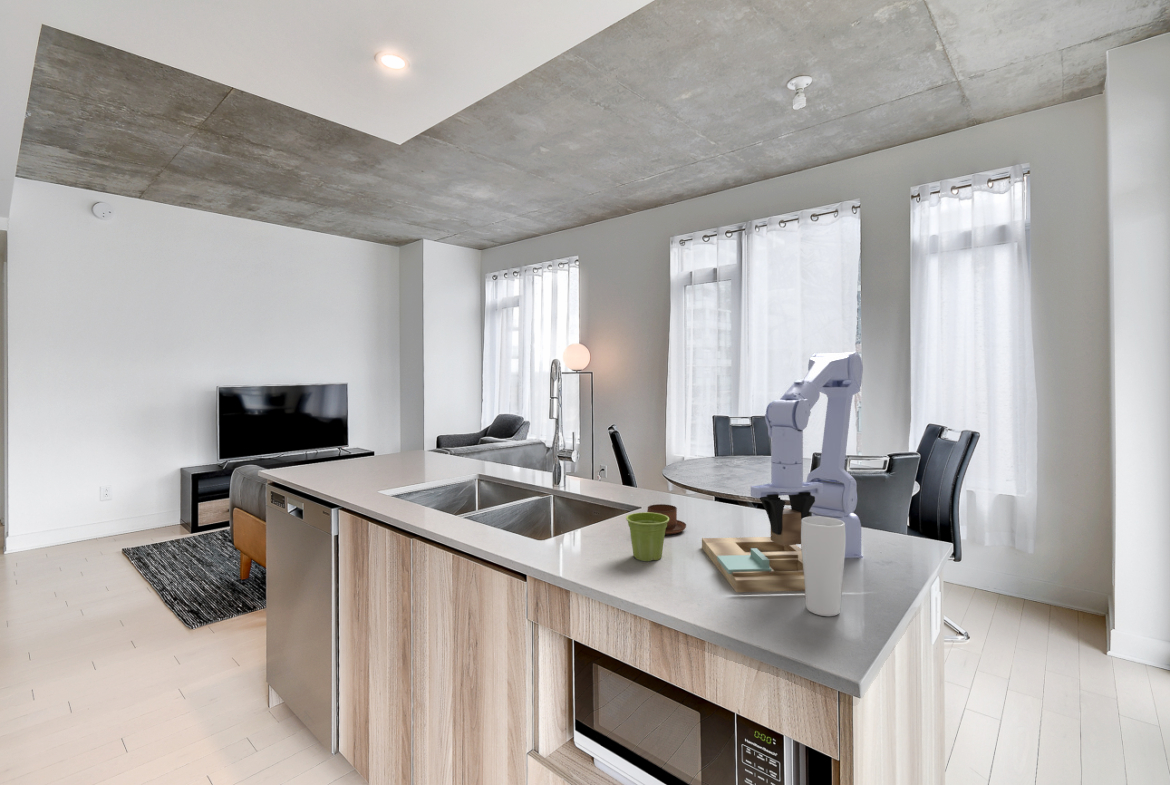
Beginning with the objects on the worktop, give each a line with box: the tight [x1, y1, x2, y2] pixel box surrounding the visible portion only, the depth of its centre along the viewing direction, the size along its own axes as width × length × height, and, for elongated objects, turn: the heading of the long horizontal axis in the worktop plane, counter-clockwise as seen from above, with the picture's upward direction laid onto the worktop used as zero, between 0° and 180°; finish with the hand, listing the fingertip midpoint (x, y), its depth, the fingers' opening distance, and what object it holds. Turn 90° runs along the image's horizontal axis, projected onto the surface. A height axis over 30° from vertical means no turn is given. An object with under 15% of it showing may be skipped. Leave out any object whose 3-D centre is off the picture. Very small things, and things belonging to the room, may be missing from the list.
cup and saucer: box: [647, 503, 687, 536], centre depth 139 cm, size 12×12×6 cm
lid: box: [717, 548, 771, 574], centre depth 106 cm, size 8×8×2 cm
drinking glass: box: [800, 515, 846, 617], centre depth 91 cm, size 7×7×15 cm
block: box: [770, 507, 801, 546], centre depth 106 cm, size 4×4×6 cm
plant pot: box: [625, 511, 669, 562], centre depth 119 cm, size 9×9×9 cm
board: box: [701, 536, 805, 593], centre depth 112 cm, size 19×26×3 cm
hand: (787, 532), depth 106 cm, fingers closed on block, 4 cm apart
